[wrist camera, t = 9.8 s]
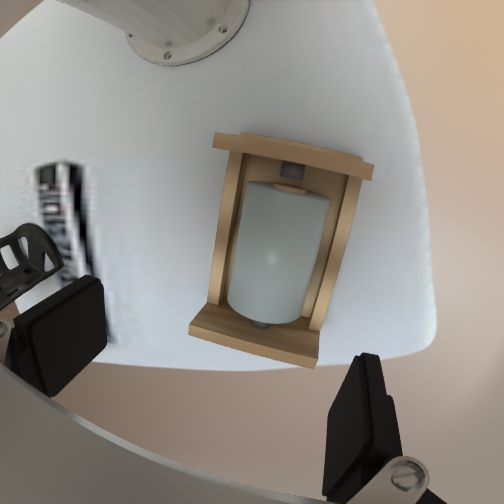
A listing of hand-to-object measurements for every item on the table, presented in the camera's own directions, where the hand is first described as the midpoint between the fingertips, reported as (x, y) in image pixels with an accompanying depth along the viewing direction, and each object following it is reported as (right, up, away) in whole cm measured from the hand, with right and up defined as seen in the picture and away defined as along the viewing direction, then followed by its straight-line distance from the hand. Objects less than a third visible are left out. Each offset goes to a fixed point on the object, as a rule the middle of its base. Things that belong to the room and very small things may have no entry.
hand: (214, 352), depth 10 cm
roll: (+4, +4, +16) cm, 17 cm away
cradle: (+4, +5, +17) cm, 18 cm away
